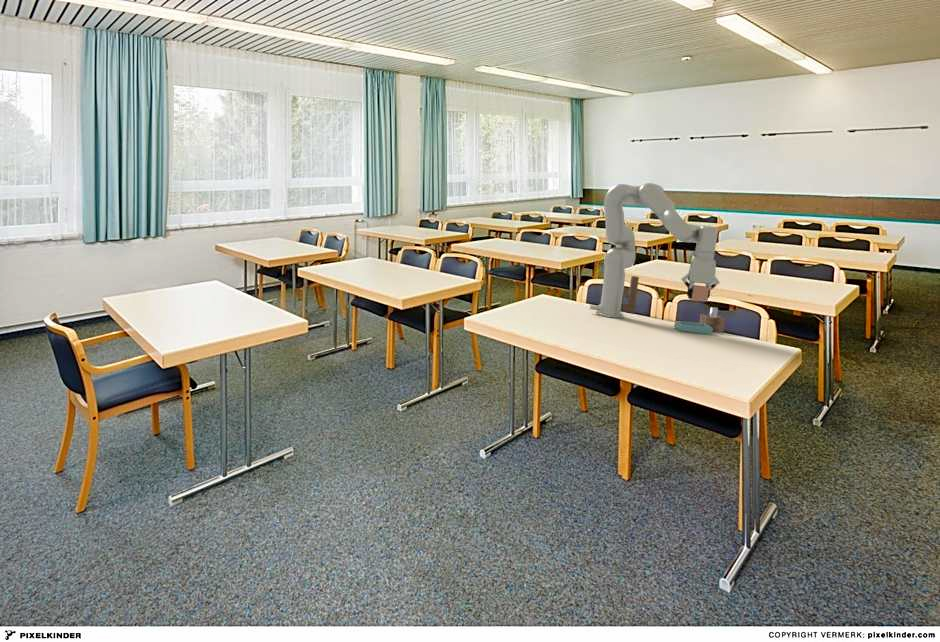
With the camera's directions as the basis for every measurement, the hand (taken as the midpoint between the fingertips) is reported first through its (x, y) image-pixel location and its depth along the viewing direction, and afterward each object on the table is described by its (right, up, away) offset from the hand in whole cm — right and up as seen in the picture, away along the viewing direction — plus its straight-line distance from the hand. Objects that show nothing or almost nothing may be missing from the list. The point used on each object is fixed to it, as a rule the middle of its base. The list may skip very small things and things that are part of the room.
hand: (697, 298), depth 247 cm
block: (0, -1, 0) cm, 1 cm away
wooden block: (-19, -5, +45) cm, 50 cm away
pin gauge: (+10, -14, +10) cm, 19 cm away
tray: (-1, -14, +2) cm, 14 cm away
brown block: (+9, -14, +10) cm, 19 cm away
